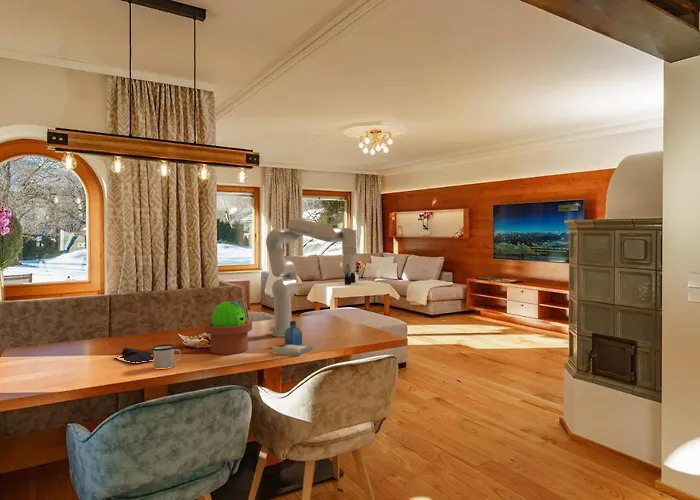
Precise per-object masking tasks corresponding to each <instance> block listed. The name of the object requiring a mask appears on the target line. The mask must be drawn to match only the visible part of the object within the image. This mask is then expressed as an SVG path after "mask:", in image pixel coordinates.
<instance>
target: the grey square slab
mask: <svg viewBox="0 0 700 500" xmlns="http://www.w3.org/2000/svg"><path fill="white" fill-rule="evenodd" d="M271 350H272V352H271V353H272V354H273V355H283V356H295V357H299V356H302V355H304V354H306V353H307V352H310V351H311V350H313V346H312V345H304V344H302V345H291V344H287V345H285V344H284V345H283V346H272V349H271Z"/></svg>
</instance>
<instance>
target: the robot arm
mask: <svg viewBox="0 0 700 500" xmlns="http://www.w3.org/2000/svg"><path fill="white" fill-rule="evenodd" d="M287 222H288V223H287V228H276V229H273V230H271V231H269V232H268V234H267V236H266V238H265V245H266V249H267V254H268V259H269V265H270V270H271V273H272V276H274V277H277V278H281V277H282V278H281V279H277V280H275V281H274V282H273V284H272V285H271V292H272V297H273V310H274V326H269V330H268V331H271V334H272V336H273V337H278V338H279V337H280V338H281V337H282V338H283V337H284V338H285V332H286V330H287V328H290V321H293V320H292V301H291V297H290V295H294V294H295V293H297V291H298V289H299V279H298V276H297V275H298V274H297V270H296V265H295V264H294V262H293V261H292V260H290V259H286V258H285V253H284V250H283V248H282V247H281V244H282V245H285V244H286V245H287V244H292V243H294V242H295V241H297V240H298V239H300V238H301V237H303V236H305V237H309V238H312V239H315V240H319V241H323V242H327V243H340V242H341V246H342V247H341V249H342V254H341V255H343V256H342V273H343V274H344V285H345V286H350V285H351V284H355V283H356V271H357V268H356V267H357V265H356V264H357V263H356V255H357V252H358V251H357V250H358V249H357V248H358V247H357V245H358V244H357V243H358V242H357V229H356V228H355V227H344V228H341V227H328V226H323V225H320V224H318V222H316V221H312V220H307V219H306V218H301V217H293V218H290V220H289V221H287Z"/></svg>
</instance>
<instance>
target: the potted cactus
mask: <svg viewBox="0 0 700 500" xmlns="http://www.w3.org/2000/svg"><path fill="white" fill-rule="evenodd" d="M246 317H247V316H246V314H245V311H244V308H242V306H241V304H240V303H237V301H236V300H233V301H231V300H228V301H222V302H221V303H219V304H218V305H217V306H216V307H215V308H214V310H213V311H212V314H211V321H210V322H208V323H205V325H204V333H205V334H207V335H209V336H210V353H212V354H215V355H221V354H223V356H224V355H226V356H228V355H236V354H241V353H243V352H247V350H248V349H249V334H248V332H251V331H252V330H253V321H252V320H248V319H246Z"/></svg>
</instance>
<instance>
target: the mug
mask: <svg viewBox="0 0 700 500" xmlns="http://www.w3.org/2000/svg"><path fill="white" fill-rule="evenodd" d="M175 348H176V345H175V344H171V343H167V344H166V343H164V344H159V345H154V346H152V347H151V350H152V352H153V354H152V355H153V359H154V361H153V368H154V367H155V368H168V367H172V366H174V367H175V362H177V361H180V360H181V355H182V352H181V350H180V349H175ZM177 351H178V352H179V353H178V354H179V358H177V359H175V352H177ZM172 368H173V367H172Z"/></svg>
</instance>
